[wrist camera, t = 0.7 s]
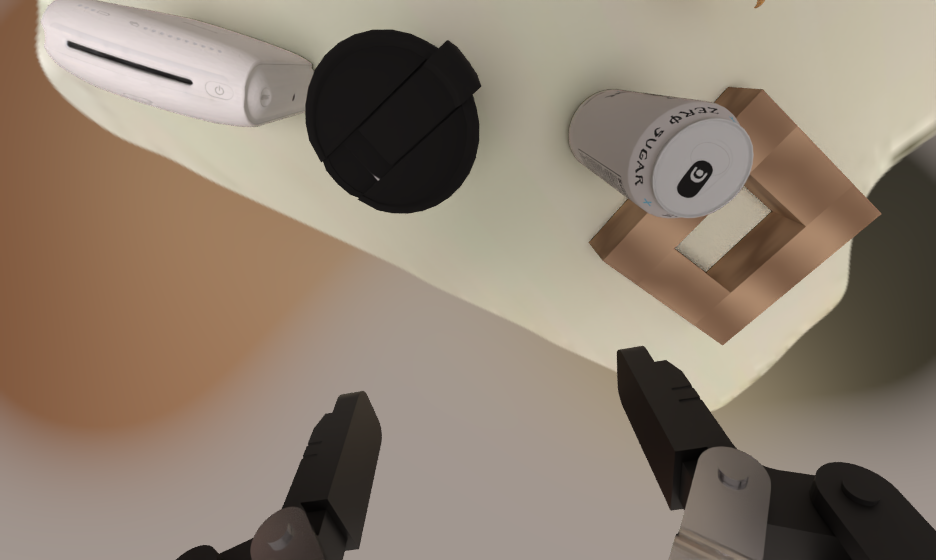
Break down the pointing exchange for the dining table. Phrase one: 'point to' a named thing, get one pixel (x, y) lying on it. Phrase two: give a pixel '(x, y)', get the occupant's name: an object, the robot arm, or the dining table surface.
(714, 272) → the wooden square frame
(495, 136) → the dining table surface
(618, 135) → the energy drink can
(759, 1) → the figurine
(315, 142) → the travel mug
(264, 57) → the photo printer
